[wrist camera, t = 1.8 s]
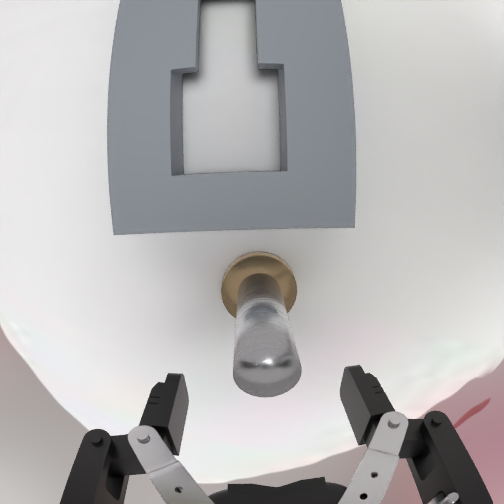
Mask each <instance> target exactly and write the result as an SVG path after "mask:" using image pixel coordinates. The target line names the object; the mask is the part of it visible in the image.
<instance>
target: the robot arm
mask: <svg viewBox="0 0 504 504" xmlns="http://www.w3.org/2000/svg"><path fill="white" fill-rule="evenodd" d="M340 397H341V401H342V403H343V406H344V408H345V411H346V414H347V416H348V419H349V421H350V424H351V427H352V429H353V432H354V435H355V437H356V440H357V443H358V445H363V444H366V445H367V450H366V452H365V454H364V456H363V458H362V460H361V462H360V464H359V466H358V468H357V470H356V472H355V474H354V476H353V478H352V480H351V481H350V483H349V485H348V487H345V486H343V485H339V484H336V483H330V482H325V478H324V477H320V478H313V479H307V480H300V481H297V482H294V483H291V484H288V485H284V486H281V487H269V486H262V485H256V484H228V489H227V490H222V491H219V492H216V493H214V494H212V495H210V496H207V495H206V493H205V492H204V491H203V490H202V489H201V488H200V487H199V485H198V484H197V483H196V482H195V480H194V479H193V478H192V477H191V475H190V474H189V473H188V472H187V470H186V469H185V468H184V466H183V465H182V464H181V463H180V462H179V461H177V460H176V459H175V457H174V456H173V455H177V456H179V452H180V446H181V441H182V436H183V431H184V425H185V420H186V415H187V410H188V404H189V398H188V392H187V387H186V383H185V378H184V375H183V374H175V373H168V375H167V377H166V380H165V383H161V382H158V383H157V384H156V385H155V386H154V387H153V388H152V390H151V393H150V395H149V398H148V401H147V404H146V407H145V409H144V412H143V415H142V418H141V421H140V424H139V426H137V427H135V428H133V429H132V430H131V431H130V432H129V434H126V435H118V436H110V435H109V433H108V432H106V431H105V430H102V429H94V430H91V431H89V432H87V433H86V434H85V436H84V438H83V440H82V443H81V445H80V448H79V451H78V453H77V456H76V459H75V461H74V464H73V466H72V469H71V472H70V475H69V478H68V480H67V483H66V486H65V489H64V492H63V495H62V499H61V502H60V504H124V499H125V494H126V489H127V484H128V479H129V475H136V474H147V475H148V477H149V478H150V480H151V481H152V483H153V484H154V486H155V488H156V489H157V491H158V492H159V494H160V495H161V497H162V498H163V500H164V501H165V503H166V504H380V503H381V501H382V499H383V497H384V495H385V492H386V490H387V488H388V485H389V483H390V480H391V478H392V476H393V473H394V471H395V468H396V466H397V463H398V460H399V458H406V459H407V462H408V464H409V467H410V469H411V472H412V475H413V478H414V480H415V483H416V485H417V488H418V491H419V494H420V497H421V499H422V502H423V504H493V501H492V499H491V497H490V494H489V492H488V490H487V489H486V486H485V484H484V482H483V481H482V478H481V476H480V474H479V472H478V470H477V468H476V467H475V465H474V463H473V461H472V459H471V457H470V455H469V453H468V451H467V450H466V448H465V446H464V444H463V443H462V441H461V439H460V437H459V435H458V434H457V432H456V430H455V429H454V427H453V425H452V423H451V422H450V420H449V419H448V417H447V416H446V415H445V414H444V413H442V412H440V411H431V412H429V413H427V414H426V415H425V417H424V419H407V417H406V416H405V415H404V414H402V413H400V412H396V411H395V410H394V408H393V406H392V404H391V403H390V401H389V399H388V397H387V395H386V394H385V392H384V390H383V388H382V387H381V385H380V383H379V381H378V380H377V378H376V377H374V376H373V375H372V374H370V373H367V374H365V373H364V371H363V369H362V367H361V366H360V365H356V366H349V367H345V369H344V373H343V378H342V382H341V387H340Z"/></svg>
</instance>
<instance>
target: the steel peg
mask: <svg viewBox="0 0 504 504" xmlns="http://www.w3.org/2000/svg"><path fill="white" fill-rule="evenodd" d="M296 295H297V286H296V282H295V279H294V276H293V274H292V272H291V270H290V268H289V266H288V265H287V264H286V263H285V262H284V261H283V260H282V259H281V258H279V257H278V256H276V255H274V254H271V253H267V252H251V253H247V254H245V255H242V256H240V257H239V258H237V259H236V260H235V261H233V262H232V263H231V265H230V266H229V267H228V269H227V270H226V273H225V275H224V278H223V283H222V300H223V303H224V305H225V307H226V309H227V310H228V312H229V313H230V314H231V315H232V316H233V317H235V318H236V331H235V348H234V365H233V378H234V381H235V383H236V384H237V386H238V387H239V388H240V389H241V390H243V391H244V392H246V393H248V394H250V395H253V396H257V397H273V396H277V395H281V394H283V393H285V392H287V391H289V390H290V389H291V388H293V387H294V386H295V385H296V383H297V382H298V381H299V379H300V376H301V364H300V360H299V357H298V353H297V349H296V345H295V341H294V338H293V334H292V330H291V326H290V323H289V319H288V315H287V313H288V312H289V311H290V309H291V308H292V306H293V305H294V302H295V299H296Z"/></svg>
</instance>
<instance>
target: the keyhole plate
mask: <svg viewBox="0 0 504 504" xmlns="http://www.w3.org/2000/svg"><path fill="white" fill-rule="evenodd" d="M200 3H201V0H120V4H119V9H118V15H117V20H116V26H115V33H114V40H113V47H112V56H111V65H110V77H109V91H108V116H107V151H108V177H109V192H110V204H111V215H112V224H113V232H114V235H124V234H143V233H164V232H187V231H214V230H246V229H288V228H354V227H355V203H356V137H355V114H354V98H353V85H352V74H351V65H350V56H349V48H348V40H347V33H346V27H345V21H344V15H343V9H342V4H341V0H255V10H256V36H257V64H258V69H278V90H279V117H280V154H281V171H252V172H223V173H203V174H188V175H184V169H183V133H182V83H183V73H192V72H198V52H199V23H200Z"/></svg>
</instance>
